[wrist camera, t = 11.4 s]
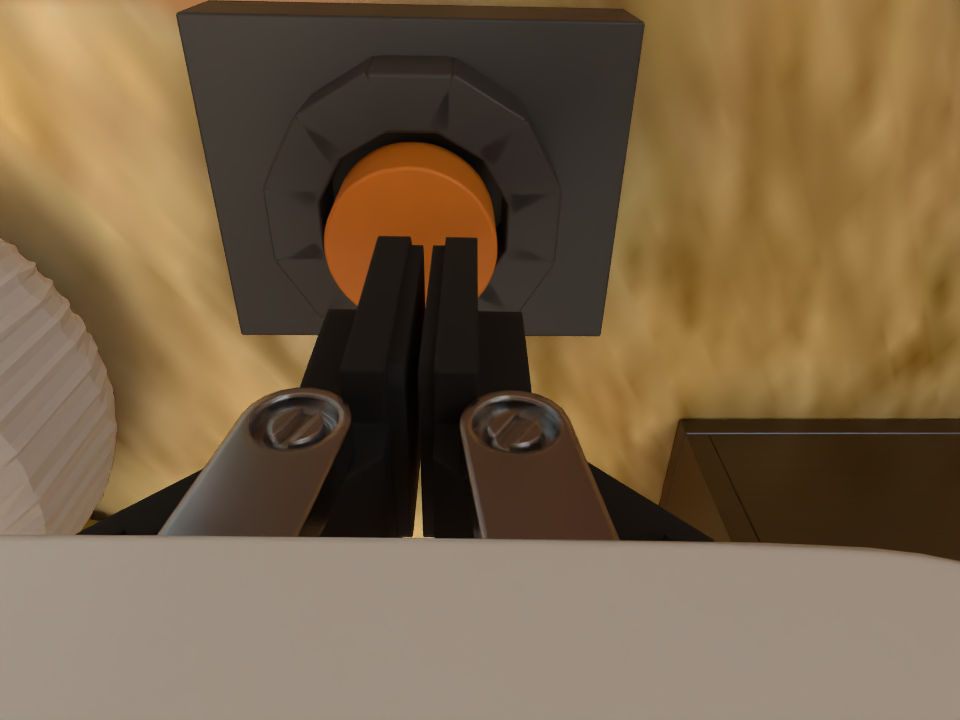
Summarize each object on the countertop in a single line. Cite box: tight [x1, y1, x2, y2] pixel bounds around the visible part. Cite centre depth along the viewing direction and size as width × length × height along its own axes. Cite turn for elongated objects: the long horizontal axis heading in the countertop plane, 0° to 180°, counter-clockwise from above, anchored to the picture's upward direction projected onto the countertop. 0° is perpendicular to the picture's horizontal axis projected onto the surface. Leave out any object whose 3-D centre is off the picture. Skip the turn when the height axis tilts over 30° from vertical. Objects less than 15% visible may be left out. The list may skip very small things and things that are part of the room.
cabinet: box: [659, 420, 960, 561], centre depth 24 cm, size 15×13×10 cm
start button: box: [324, 142, 497, 307], centre depth 15 cm, size 4×4×2 cm
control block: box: [176, 0, 645, 336], centre depth 17 cm, size 10×8×4 cm
